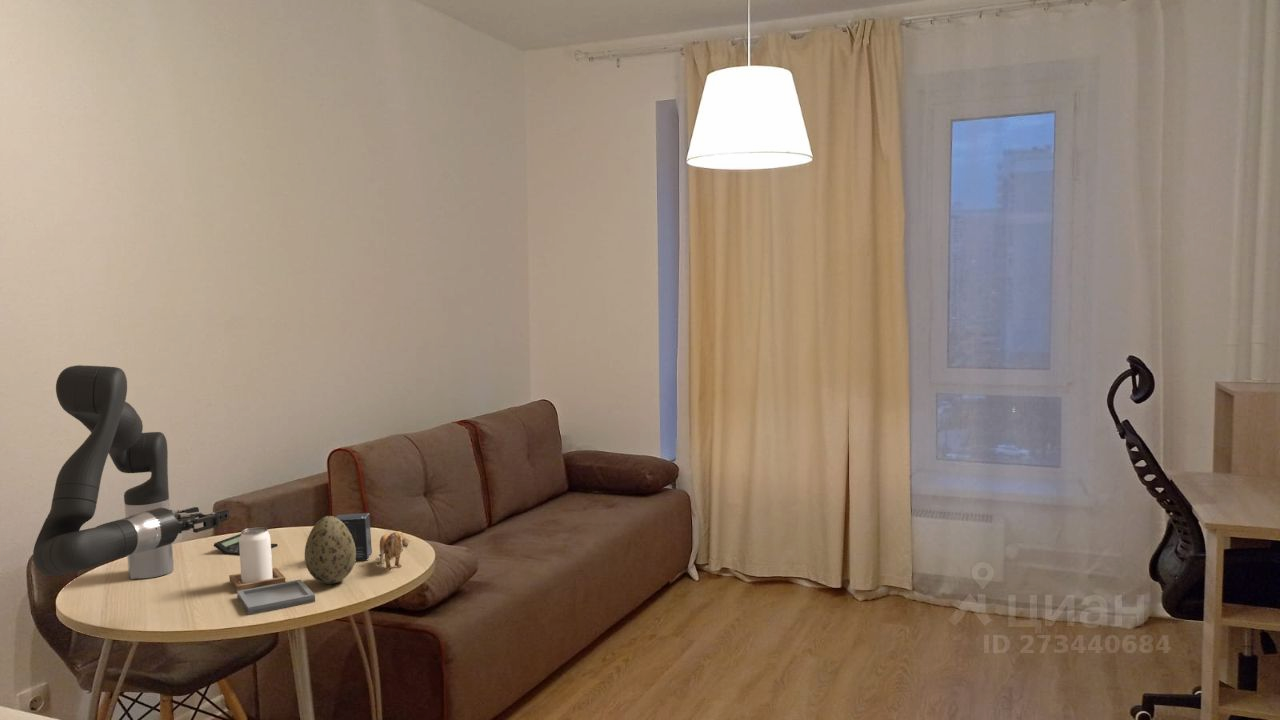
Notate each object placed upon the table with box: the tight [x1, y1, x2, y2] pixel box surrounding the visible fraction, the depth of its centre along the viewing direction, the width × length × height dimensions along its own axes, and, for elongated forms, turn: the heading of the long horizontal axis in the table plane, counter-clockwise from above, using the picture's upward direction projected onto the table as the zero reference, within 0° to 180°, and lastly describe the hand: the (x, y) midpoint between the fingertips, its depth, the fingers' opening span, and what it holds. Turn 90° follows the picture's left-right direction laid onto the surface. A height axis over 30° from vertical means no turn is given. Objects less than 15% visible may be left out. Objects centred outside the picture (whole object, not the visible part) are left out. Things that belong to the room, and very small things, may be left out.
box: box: [335, 512, 373, 561], centre depth 223 cm, size 8×6×11 cm
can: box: [239, 526, 274, 584], centre depth 205 cm, size 6×6×12 cm
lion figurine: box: [378, 530, 411, 570], centre depth 217 cm, size 15×5×9 cm, turn 37°
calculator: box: [213, 533, 278, 556], centre depth 234 cm, size 9×12×3 cm
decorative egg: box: [304, 515, 356, 585], centre depth 204 cm, size 11×11×15 cm
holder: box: [228, 566, 286, 593], centre depth 206 cm, size 10×10×2 cm
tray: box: [236, 579, 316, 616], centre depth 194 cm, size 13×13×2 cm
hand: (212, 512), depth 194 cm, fingers open, 8 cm apart
